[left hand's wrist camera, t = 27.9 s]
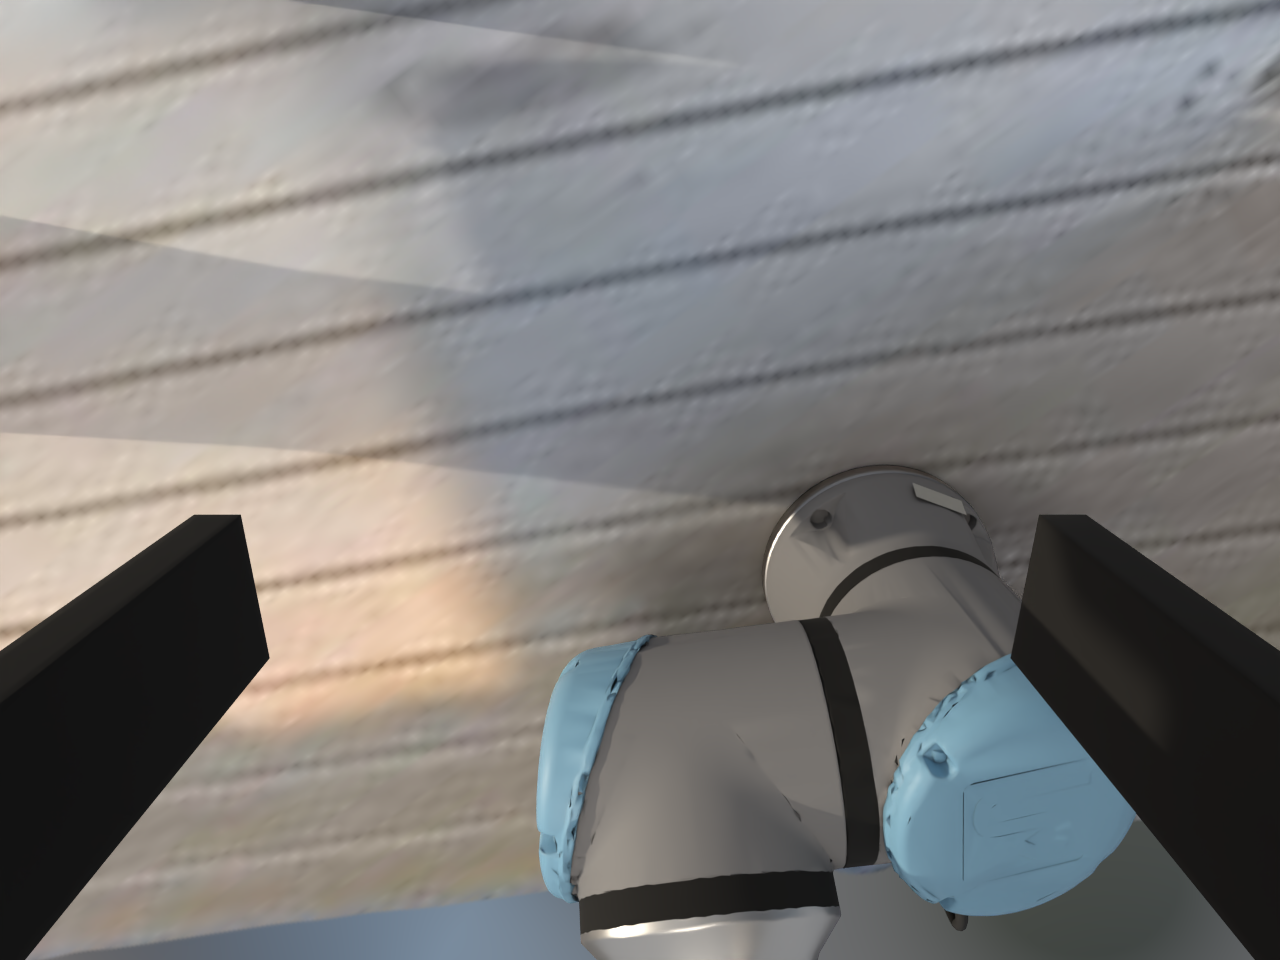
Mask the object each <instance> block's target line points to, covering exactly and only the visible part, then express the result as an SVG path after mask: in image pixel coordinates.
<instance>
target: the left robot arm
mask: <svg viewBox="0 0 1280 960" xmlns="http://www.w3.org/2000/svg"><path fill="white" fill-rule="evenodd" d="M762 580H763V589H764V594H765V598H766V601H767V604H768V607H769V610H770V613H771V616H772V618H773V620H774V622H775V623H768V624H761V625H753V626H745V627H738V628H730V629H722V630H714V631H705V632H696V633H687V634H678V635H669V636H660V637H657V636H654V635H645V636H643V637H641V638H639V639H638V640H636V641H631V642H626V643H621V644H615V645H609V646H603V647H597V648H593V649H589V650H586V651H584V652H582V653H580V654H578V655H577V656H576V657H574V658H573V659H572V660H571V661H570V662H569V663H568V665H567V666H566V667H565V668H564V670H563V671H562V673H561V675H560V677H559V680H558V682H557V683H556V685H555V688H554V690H553V693H552V696H551V699H550V703H549V706H548V710H547V715H546V719H545V725H544V730H543V736H542V742H541V750H540V759H539V769H538V785H537V827H538V830H539V831H540V832H541V834H540V846H539V858H540V866H541V871H542V875H543V879H544V882H545V884H546V886H547V888H548V890H549V891H550V892H551V893H552V894H553V895H554V896H555V897H557V898H562V899H564V900H565V901H566V902H568V903H575V902H579V907H580V931H581V944H582V945H583V946H584V947H585V948H586V949H587V950H588V951H589V952H590V953H591V954H592V955H593V956H594V957H595V958H596V959H597V960H818V956H819V953H820V951H821V949H822V947H823V946H824V944H825V942H826V941H827V939H828V937H829V935H830V934H831V932H832V930H833V929H834V927H835V925H836V923H837V922H838V920H839V918H840V916H841V911H840V906H839V902H838V897H837V892H836V887H835V882H834V877H833V871H834V869H839V868H848V867H857V866H866V865H876V864H885V863H892V866H893V869H894V871H895V872H896V873H898V874H899V877H900V878H901V879H903V880H904V881H905V882H906V883H907V884H908V885H909V887H910V888H911V889H912V890H913V891H914V892H915V893H916V894H917V895H919V896H920V897H921V898H922V899H924V900H926V901H928V902H930V903H932V904H933V903H937V902H939V903H940V904H941V906H942V907H943V908H944V910H945V912H946V915H947V917H948V919H949V921H950V923H951V925H952V926H953V927H954V928H955V929H956V930H958V931H963V930H965V929H966V926H967V923H968V915H969V916H996V915H1003V914H1009V913H1015V912H1019V911H1022V910H1026V909H1029V908H1032V907H1035V906H1038V905H1041V904H1043V903H1045V902H1048V901H1050V900H1052V899H1054V898H1056V897H1058V896H1060V895H1062V894H1063V893H1065V892H1067V891H1069V890H1070V889H1072V888H1073V887H1075V886H1076V885H1077V884H1079V883H1080V882H1081V881H1083V880H1084V879H1086V878H1087V877H1088V876H1090V875H1091V874H1092V873H1093V872H1094V870H1095V869H1096V867H1097V866H1098V865H1099V864H1100V862H1102V861H1103V860H1104V859H1105V858H1107V857H1108V856H1109V855H1110V854H1111V853H1113V851H1114V850H1115V849H1116V848H1117V846H1118V845H1119V844H1120V842H1121V841H1122V839H1123V838H1124V836H1125V835H1126V833H1127V832H1128V830H1129V828H1130V826H1131V824H1132V822H1133V820H1134V818H1135V815H1136V814H1137V815H1138V816H1139V817H1140V819H1141V820H1142V821H1143V822H1144V824H1145V825H1146V826H1147V827H1148V828H1149V830H1150V831H1151V832H1152V833H1153V835H1154V836H1155V837H1156V838H1157V840H1158V841H1159V842H1160V843H1161V844H1162V846H1163V847H1164V848H1165V849H1166V851H1167V852H1168V853H1169V854H1170V856H1171V857H1172V858H1173V859H1174V861H1175V862H1176V863H1177V864H1178V865H1179V867H1180V868H1181V869H1182V870H1183V872H1184V873H1185V874H1186V875H1187V877H1188V878H1189V879H1190V880H1191V882H1192V883H1193V884H1194V885H1195V886H1196V888H1197V889H1198V890H1199V891H1200V893H1201V894H1202V895H1203V896H1204V898H1205V899H1206V900H1207V901H1208V902H1209V904H1210V905H1211V906H1212V907H1213V909H1214V910H1215V911H1216V912H1217V914H1218V915H1219V916H1220V917H1221V919H1222V920H1223V921H1224V922H1225V923H1226V925H1227V926H1228V927H1229V928H1230V930H1231V931H1232V932H1233V933H1234V935H1235V936H1236V937H1237V938H1238V939H1239V941H1240V942H1241V943H1242V944H1243V946H1244V947H1245V948H1246V949H1247V951H1248V952H1249V953H1250V954H1251V956H1252V957H1253V958H1254V959H1255V960H1280V651H1279V650H1277V649H1276V648H1275V647H1273V646H1272V645H1270V644H1269V643H1268V642H1266V641H1265V640H1263V639H1262V638H1260V637H1259V636H1258V635H1256V634H1255V633H1253V632H1252V631H1250V630H1249V629H1248V628H1246V627H1245V626H1243V625H1242V624H1240V623H1239V622H1238V621H1236V620H1235V619H1233V618H1232V617H1231V616H1229V615H1228V614H1226V613H1225V612H1223V611H1222V610H1221V609H1219V608H1218V607H1216V606H1215V605H1213V604H1212V603H1211V602H1209V601H1208V600H1206V599H1205V598H1204V597H1202V596H1201V595H1199V594H1198V593H1196V592H1195V591H1194V590H1192V589H1191V588H1189V587H1188V586H1186V585H1185V584H1184V583H1182V582H1181V581H1179V580H1178V579H1176V578H1175V577H1174V576H1172V575H1171V574H1169V573H1168V572H1167V571H1165V570H1164V569H1162V568H1161V567H1159V566H1158V565H1157V564H1155V563H1154V562H1152V561H1151V560H1149V559H1148V558H1147V557H1145V556H1144V555H1142V554H1141V553H1140V552H1138V551H1137V550H1135V549H1134V548H1132V547H1131V546H1130V545H1128V544H1127V543H1125V542H1124V541H1122V540H1121V539H1120V538H1118V537H1117V536H1115V535H1114V534H1113V533H1111V532H1110V531H1108V530H1107V529H1105V528H1104V527H1103V526H1101V525H1100V524H1098V523H1097V522H1095V521H1094V520H1093V519H1091V518H1090V517H1088V516H1087V515H1039V519H1038V524H1037V529H1036V534H1035V539H1034V544H1033V548H1032V553H1031V558H1030V563H1029V568H1028V573H1027V578H1026V583H1025V588H1024V593H1023V598H1022V600H1021V599H1020V598H1019V597H1018V596H1017V595H1016V594H1015V593H1014V592H1013V591H1012V590H1011V589H1010V588H1009V587H1008V586H1007V585H1006V584H1005V583H1004V582H1003V581H1002V580H1001V579H1000V576H999V572H998V568H997V564H996V559H995V555H994V551H993V547H992V543H991V540H990V537H989V535H988V533H987V530H986V528H985V527H984V525H983V523H982V521H981V520H980V518H979V516H978V515H977V513H976V512H975V511H974V509H973V508H972V507H971V506H970V505H969V503H968V502H967V501H966V500H965V499H964V498H963V497H961V496H960V495H959V494H958V493H957V492H956V491H955V490H954V489H952V488H951V487H950V486H949V485H947V484H946V483H944V482H943V481H941V480H940V479H938V478H936V477H934V476H932V475H930V474H927V473H925V472H922V471H919V470H915V469H912V468H907V467H901V466H890V465H880V466H868V467H862V468H857V469H853V470H849V471H846V472H843V473H840V474H838V475H835V476H832V477H830V478H828V479H826V480H824V481H822V482H821V483H819V484H817V485H816V486H814V487H812V488H811V489H810V490H808V491H807V492H806V493H804V494H803V495H802V496H801V497H800V498H799V499H797V500H796V501H795V502H794V503H793V504H792V505H791V506H790V508H789V509H788V510H787V511H786V512H785V514H784V515H783V516H782V517H781V519H780V520H779V522H778V523H777V525H776V527H775V528H774V530H773V532H772V534H771V536H770V539H769V542H768V544H767V547H766V551H765V555H764V560H763V569H762ZM268 659H269V653H268V648H267V643H266V638H265V633H264V628H263V623H262V618H261V613H260V608H259V603H258V598H257V593H256V588H255V583H254V578H253V573H252V568H251V563H250V558H249V553H248V548H247V544H246V539H245V534H244V529H243V524H242V519H241V515H193V516H192V517H190V518H189V519H187V520H186V521H185V522H183V523H182V524H180V525H179V526H177V527H176V528H175V529H173V530H172V531H170V532H169V533H167V534H166V535H165V536H163V537H162V538H160V539H159V540H158V541H156V542H155V543H153V544H152V545H150V546H149V547H148V548H146V549H145V550H143V551H142V552H140V553H139V554H138V555H136V556H135V557H133V558H132V559H131V560H129V561H128V562H126V563H125V564H123V565H122V566H121V567H119V568H118V569H116V570H115V571H113V572H112V573H111V574H109V575H108V576H106V577H105V578H104V579H102V580H101V581H99V582H98V583H96V584H95V585H94V586H92V587H91V588H89V589H88V590H86V591H85V592H84V593H82V594H81V595H79V596H78V597H76V598H75V599H74V600H72V601H71V602H69V603H68V604H67V605H65V606H64V607H62V608H61V609H59V610H58V611H57V612H55V613H54V614H52V615H51V616H49V617H48V618H47V619H45V620H44V621H42V622H41V623H40V624H38V625H37V626H35V627H34V628H32V629H31V630H30V631H28V632H27V633H25V634H24V635H22V636H21V637H20V638H18V639H17V640H15V641H14V642H12V643H11V644H10V645H8V646H7V647H5V648H4V649H3V650H1V651H0V960H25V959H26V958H27V957H28V956H29V954H30V953H31V952H32V951H33V949H34V948H35V947H36V946H37V944H38V943H39V942H40V941H41V940H42V938H43V937H44V936H45V935H46V933H47V932H48V931H49V930H50V928H51V927H52V926H53V925H54V923H55V922H56V921H57V920H58V919H59V917H60V916H61V915H62V914H63V912H64V911H65V910H66V909H67V907H68V906H69V905H70V904H71V902H72V901H73V900H74V899H75V898H76V896H77V895H78V894H79V893H80V891H81V890H82V889H83V888H84V886H85V885H86V884H87V883H88V882H89V880H90V879H91V878H92V877H93V875H94V874H95V873H96V872H97V870H98V869H99V868H100V867H101V865H102V864H103V863H104V862H105V861H106V859H107V858H108V857H109V856H110V854H111V853H112V852H113V851H114V849H115V848H116V847H117V846H118V845H119V843H120V842H121V841H122V840H123V838H124V837H125V836H126V835H127V833H128V832H129V831H130V830H131V828H132V827H133V826H134V825H135V824H136V822H137V821H138V820H139V819H140V817H141V816H142V815H143V814H144V812H145V811H146V810H147V809H148V808H149V806H150V805H151V804H152V803H153V801H154V800H155V799H156V798H157V796H158V795H159V794H160V793H161V791H162V790H163V789H164V788H165V787H166V785H167V784H168V783H169V782H170V780H171V779H172V778H173V777H174V775H175V774H176V773H177V772H178V771H179V769H180V768H181V767H182V766H183V764H184V763H185V762H186V761H187V759H188V758H189V757H190V756H191V754H192V753H193V752H194V751H195V750H196V748H197V747H198V746H199V745H200V743H201V742H202V741H203V740H204V738H205V737H206V736H207V735H208V733H209V732H210V731H211V730H212V729H213V727H214V726H215V725H216V724H217V722H218V721H219V720H220V719H221V717H222V716H223V715H224V714H225V713H226V711H227V710H228V709H229V708H230V706H231V705H232V704H233V703H234V701H235V700H236V699H237V698H238V696H239V695H240V694H241V693H242V692H243V690H244V689H245V688H246V687H247V685H248V684H249V683H250V682H251V680H252V679H253V678H254V677H255V676H256V674H257V673H258V672H259V671H260V669H261V668H262V667H263V666H264V664H265V663H266V662H267V661H268Z"/></svg>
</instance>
